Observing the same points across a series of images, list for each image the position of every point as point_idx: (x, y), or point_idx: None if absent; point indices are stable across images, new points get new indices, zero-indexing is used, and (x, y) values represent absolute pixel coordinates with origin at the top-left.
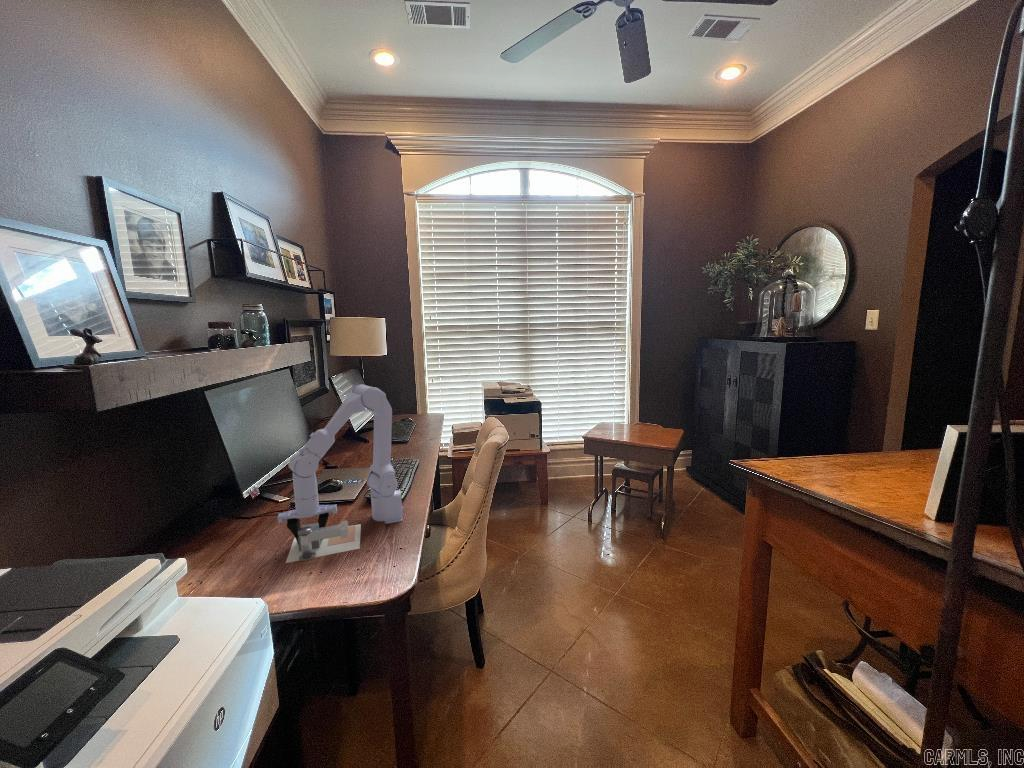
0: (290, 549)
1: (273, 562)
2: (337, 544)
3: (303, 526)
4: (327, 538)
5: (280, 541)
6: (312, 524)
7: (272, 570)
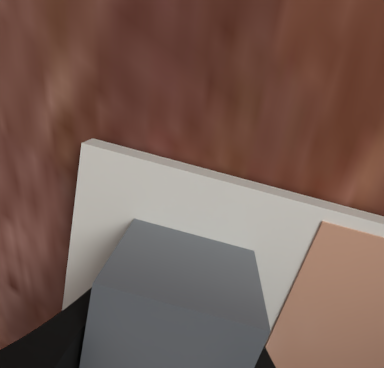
0: (64, 299)
1: (6, 305)
2: None
3: (105, 311)
4: (269, 313)
5: (2, 100)
6: (186, 322)
7: None
